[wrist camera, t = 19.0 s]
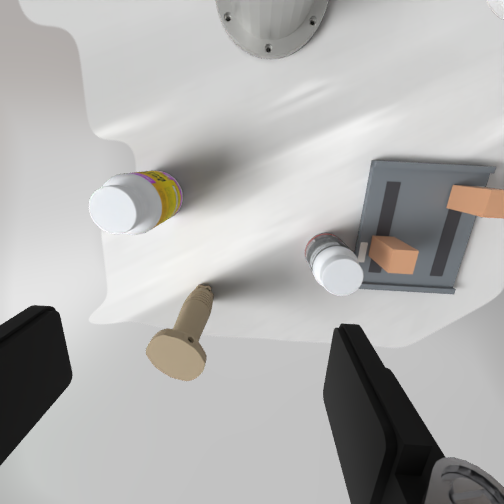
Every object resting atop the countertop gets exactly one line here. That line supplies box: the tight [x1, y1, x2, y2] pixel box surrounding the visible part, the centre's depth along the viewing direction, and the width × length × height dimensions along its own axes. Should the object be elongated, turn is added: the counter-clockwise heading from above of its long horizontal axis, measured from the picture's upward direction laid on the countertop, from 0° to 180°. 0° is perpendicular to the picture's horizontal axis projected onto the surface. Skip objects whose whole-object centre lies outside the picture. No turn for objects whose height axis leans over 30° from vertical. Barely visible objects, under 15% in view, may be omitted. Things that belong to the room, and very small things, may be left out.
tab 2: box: [446, 185, 504, 218], centre depth 32 cm, size 3×3×6 cm
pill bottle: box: [305, 233, 364, 296], centre depth 35 cm, size 6×6×10 cm
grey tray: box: [355, 161, 496, 294], centre depth 37 cm, size 18×15×2 cm
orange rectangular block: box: [368, 236, 419, 274], centre depth 35 cm, size 3×3×6 cm
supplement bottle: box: [89, 171, 183, 235], centre depth 32 cm, size 7×7×13 cm
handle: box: [146, 285, 214, 381], centre depth 35 cm, size 5×6×15 cm
